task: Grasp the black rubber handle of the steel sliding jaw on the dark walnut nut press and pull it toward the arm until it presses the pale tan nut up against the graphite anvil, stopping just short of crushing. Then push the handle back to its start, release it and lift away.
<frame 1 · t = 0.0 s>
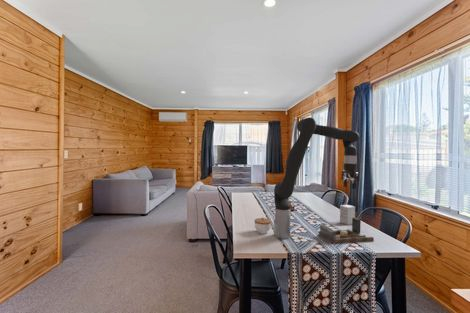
hand: (349, 187, 152), 29 cm above the table, fingers open, 8 cm apart
hazelnut: (343, 237, 140), point 1 cm above the table, touching press base
supplement box: (347, 223, 175), on the table
press jaw: (356, 227, 141), point 7 cm above the table, slide at 0.0 cm
lidded jar: (262, 232, 152), on the table
press base: (345, 240, 140), on the table
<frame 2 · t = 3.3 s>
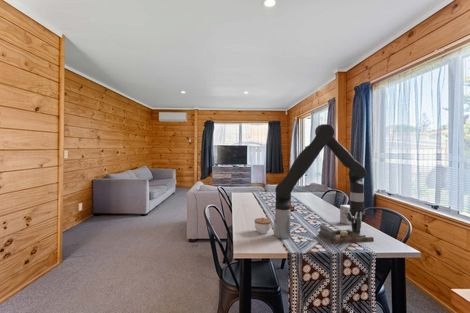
hand: (356, 228, 141), 7 cm above the table, fingers closed on press jaw, 2 cm apart
press jaw: (356, 227, 141), point 7 cm above the table, slide at 0.0 cm, touching gripper
everything else where it was.
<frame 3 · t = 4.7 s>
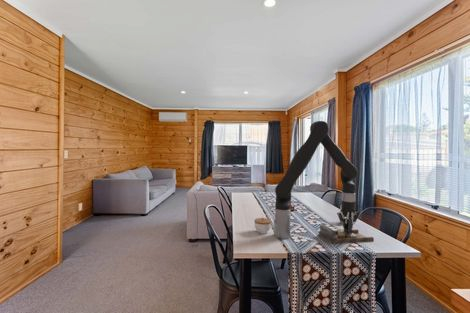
hand: (347, 228, 140), 7 cm above the table, fingers closed on press jaw, 2 cm apart
hazelnut: (341, 237, 140), point 2 cm above the table, touching press jaw
press jaw: (347, 228, 140), point 7 cm above the table, slide at 5.5 cm, touching gripper, hazelnut
everything else where it was.
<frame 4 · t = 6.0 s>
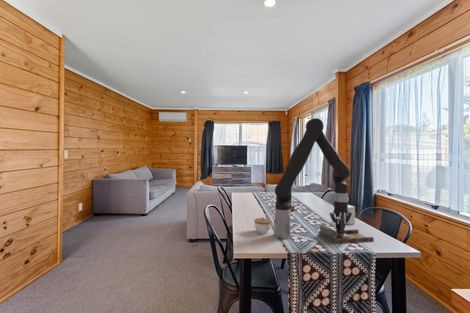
hand: (340, 229, 139), 7 cm above the table, fingers closed on press jaw, 2 cm apart
hazelnut: (333, 238, 139), point 1 cm above the table, touching press base, press jaw
press jaw: (340, 228, 139), point 7 cm above the table, slide at 10.5 cm, touching gripper, hazelnut
everything else where it was.
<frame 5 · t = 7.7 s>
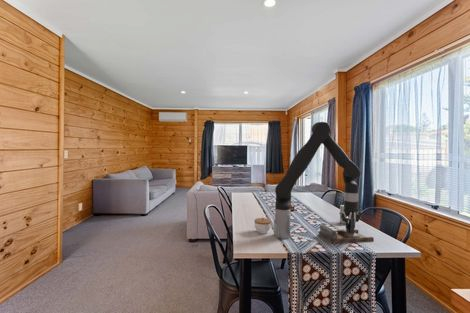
hand: (350, 228, 141), 7 cm above the table, fingers closed on press jaw, 2 cm apart
hazelnut: (333, 238, 139), point 1 cm above the table, touching press base
press jaw: (350, 227, 141), point 7 cm above the table, slide at 3.9 cm, touching gripper
everything else where it was.
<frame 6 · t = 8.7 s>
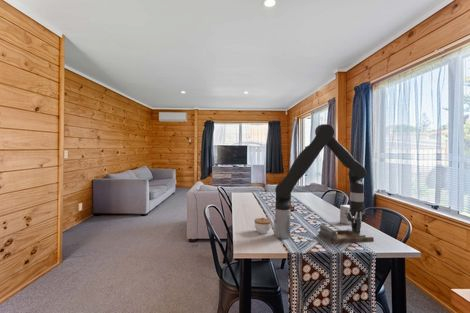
hand: (356, 228, 141), 7 cm above the table, fingers closed on press jaw, 2 cm apart
press jaw: (356, 227, 141), point 7 cm above the table, slide at 0.1 cm, touching gripper
everything else where it was.
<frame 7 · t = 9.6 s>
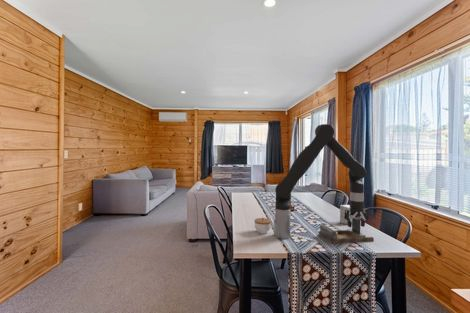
hand: (356, 226, 141), 8 cm above the table, fingers open, 8 cm apart
press jaw: (356, 227, 141), point 7 cm above the table, slide at 0.1 cm
everything else where it was.
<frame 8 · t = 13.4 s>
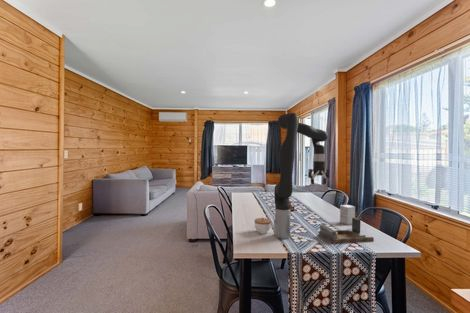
hand: (318, 184, 161), 30 cm above the table, fingers open, 8 cm apart
nothing on the table moved.
at the end: press jaw slide at 0.1 cm; hazelnut inside the target area on the press base (0.2 cm from its centre), point 1.5 cm above the press base's base; hazelnut tilted 0° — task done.
